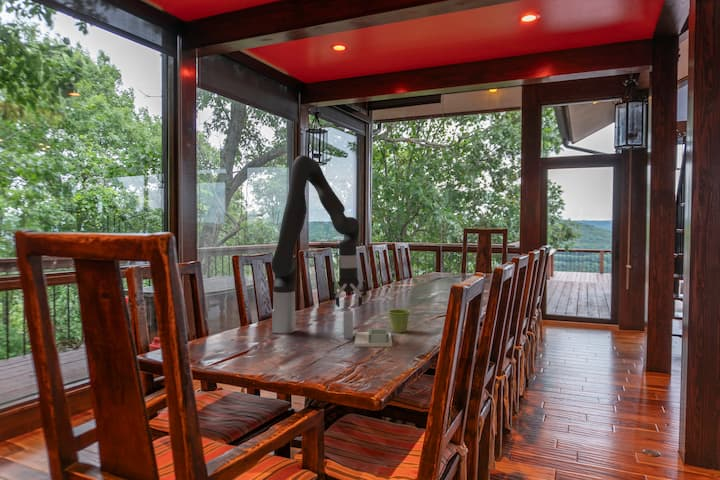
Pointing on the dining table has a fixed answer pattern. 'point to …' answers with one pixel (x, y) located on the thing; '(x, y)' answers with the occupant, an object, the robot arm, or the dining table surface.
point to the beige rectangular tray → (373, 338)
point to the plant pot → (399, 320)
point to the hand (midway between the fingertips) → (349, 306)
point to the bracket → (348, 324)
